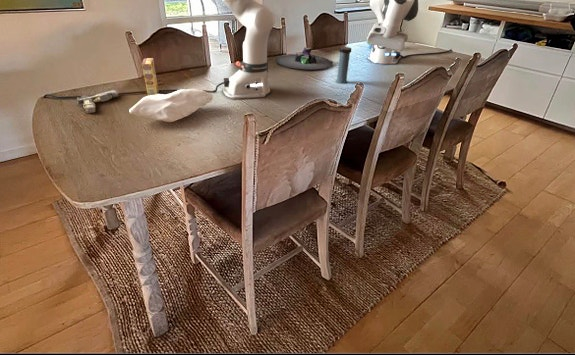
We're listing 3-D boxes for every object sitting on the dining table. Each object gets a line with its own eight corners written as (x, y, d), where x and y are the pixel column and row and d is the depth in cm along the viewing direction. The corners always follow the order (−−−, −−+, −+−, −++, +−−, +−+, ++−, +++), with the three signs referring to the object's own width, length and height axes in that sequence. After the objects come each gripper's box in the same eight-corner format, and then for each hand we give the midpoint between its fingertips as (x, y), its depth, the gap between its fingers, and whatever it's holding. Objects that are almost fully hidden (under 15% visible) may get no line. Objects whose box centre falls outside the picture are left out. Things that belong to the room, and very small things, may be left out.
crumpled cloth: (117, 110, 146) (113, 90, 140) (195, 92, 166) (194, 73, 160) (143, 139, 134) (140, 118, 128) (223, 116, 154) (224, 96, 148)
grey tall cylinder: (335, 80, 195) (339, 48, 186) (344, 80, 196) (348, 47, 187) (338, 83, 191) (342, 50, 182) (347, 83, 192) (351, 50, 183)
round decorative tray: (344, 65, 218) (345, 49, 214) (297, 72, 201) (297, 55, 197) (309, 55, 243) (309, 41, 239) (264, 61, 226) (264, 46, 221)
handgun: (128, 97, 156) (111, 87, 164) (86, 107, 144) (70, 97, 152) (129, 103, 157) (113, 94, 165) (88, 114, 146) (72, 103, 154)
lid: (337, 50, 186) (338, 46, 186) (348, 50, 188) (348, 46, 187) (341, 53, 182) (342, 49, 181) (352, 52, 183) (353, 49, 182)
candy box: (157, 97, 164) (152, 63, 155) (147, 98, 163) (141, 63, 155) (158, 91, 171) (153, 57, 163) (149, 91, 170) (143, 58, 162)
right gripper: (409, 31, 192) (400, 55, 202) (371, 22, 194) (364, 46, 204) (408, 36, 188) (399, 61, 198) (370, 27, 190) (363, 51, 200)
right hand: (381, 53), depth 201 cm, fingers open, 8 cm apart
